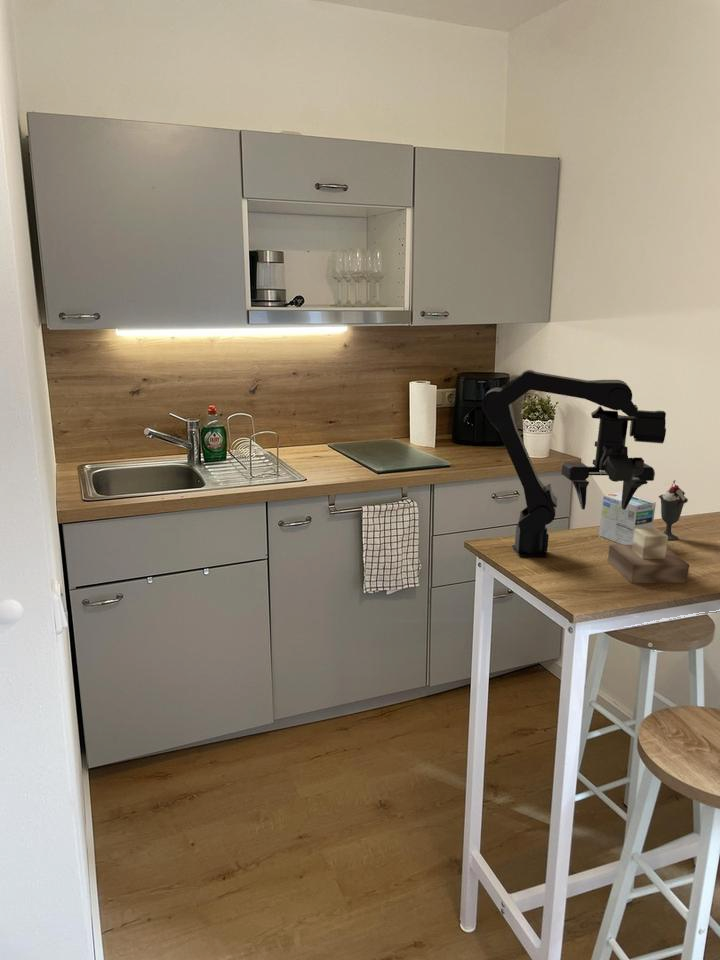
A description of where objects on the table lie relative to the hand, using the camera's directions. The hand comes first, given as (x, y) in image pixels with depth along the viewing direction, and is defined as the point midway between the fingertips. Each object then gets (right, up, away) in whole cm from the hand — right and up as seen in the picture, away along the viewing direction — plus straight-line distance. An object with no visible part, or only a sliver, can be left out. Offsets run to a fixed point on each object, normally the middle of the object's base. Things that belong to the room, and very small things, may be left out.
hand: (603, 509), depth 159 cm
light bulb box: (+11, -8, +17) cm, 22 cm away
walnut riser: (+8, -13, -3) cm, 16 cm away
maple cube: (+8, -10, -4) cm, 13 cm away
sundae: (+22, -8, +20) cm, 31 cm away
